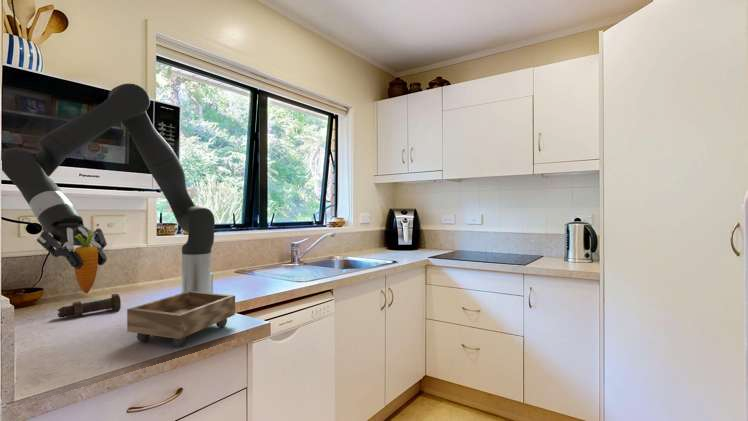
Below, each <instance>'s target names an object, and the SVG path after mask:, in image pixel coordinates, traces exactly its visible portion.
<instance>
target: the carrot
mask: <svg viewBox="0 0 748 421" xmlns="http://www.w3.org/2000/svg"><path fill="white" fill-rule="evenodd" d="M92 236H93V232H92V231H89V232H88V237H87V239H86V242H85V239H83V238H82V236H81V234H78V235H77V236H75V237H74V238H76V239H77V240H78V241H79V242H80V243H81V245H82V247H80V246H77V247H76V248H74V251H73V252H75V251H76V252H77V254H78V255H79V257H80V258H81V259H82V261H83V265H82V267H81V268H80V269H75V268H74V272H75V277H76V281H77V283H78V286H79V287H80V290H81V291H82V292H83V293H84V294H88V293H89V292H90V291H91V289H92V287H93V285H94V283H95V280H96V277H97V272H98V266H99V264H98V249H97V248H96V247H94V246H92V245H91V246H90V243H91V239H92Z"/></svg>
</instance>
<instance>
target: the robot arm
mask: <svg viewBox="0 0 748 421" xmlns="http://www.w3.org/2000/svg"><path fill="white" fill-rule="evenodd" d="M150 104H151V99H150V96H149V93H148V92H147V91H146V90H145V88H143V87H142V86H140V85H138V84H135V83H122V84H120V85H118V86H114V87H113V88H112V89H111V90H110V91H109V93H108V96H107V98H106V99H105V100H104V101H103V102H101V103H100V104H98V105H97V106H95V107H94V108H92V109H91V110H89V111H87V112H85V113H83V114H81V115H79V116H77V117H75V118H73V119H71V120H69V121H67V122H65V123H64V124H62V125H60V126H58V127H56V128H55V129H52V130H51V131H49V132H48V133H47V134H45V135H43V136H42V137H40V138H39V140H37V143H38V147H39V151H38V152H37V153H36V154H34V153H33V152H31V151H30V150H27V149H25V148H23V147H9V148H7V149H4V150H3V151H2V152H1V153H2V169H1V171H2V172H3V173H4V174H5V176H6V177H7V178H8V179H9V180H10V182H12V184H13V185H14V186H15V187H16V188H17V189H18V190H19V192H20V193H21V195H22V196H23V198H24V200H25V201H26V202H27V204H28V205H29V207H30V209H31V212H32V213H33V215H34V216H35V218H36V220H37V221H38V222H39V224H40V225H41V227H42V229H43V230H44V231H42V232H41V233H40V235H39V236H38V238H37V239H36V242H37V243H38V244H39V245H41V246H42V248H44V249H45V250H46V251H47V252H49V253H50V254H51V256H52V257H54V258H59V257H63V258H65V259H66V260H67V262H68V263H69V264H70V266H72V267H73V268H74V270H75V269H80V268H81V267H82V265H83V261H82V259H81V258H80V257H79V255H78V254H77V252H76V251H75V252H74V250H75V248H74V247H75V246H76V247H82V245H81V243H80V242H79V241H78V240H77V239H76V238H74V237H75V236H77V235H78V234H81V236H82V238H83V239H85V242H86V239H87V237H88V232H89V231H92V232H93V236H92V239H91V243H90V246H94V247H96V248H97V249H98V266H103V265H104V264H105V263H106V262H107V260H108V257H107V256H106V254H105V253H104V248H105V247H107V245H108V243H107V240H106V238H105V235H104V232H103V230H102V229H101V228H99V227H97V228H96V229H95V230H93V229H89V228H88V227H87V226H85V225H84V221H83V217H82V216H81V215H80V213H79V212H78V210H77V209H76V207H75V206H74V205H73V204H72V202H71V200H69V198H68V197H67V196H66V195H65V194H64V193H63V192H62V190H61V189H60V187H59V186H58V185H57V183H56V182H54V180H53V179H51V178H50V176H51V175H52V174H53V173H54V172H55V171H56V170H57V169H58V168H59V167H60V165H62V163H63V162H64V160H66V158H69V157H70V156H72V155H73V154H74V153H76V152H78V151H80V150H81V149H82V148H84V147H86V145H88V144H90V143H91V142H93V141H94V140H95V139H97V138H98V137H99V136H101V135H103V134H104V133H105V132H107V131H108V130H109V129H112V128H114V127H115V126H117V125H119V124H122V125H123V127H124V128H125V129H126V131H127V132H128V134H129V136H130V137H131V140H132V141H133V143H134V145H135V147H136V148H137V150H138V153H139V154H140V157H141V158H142V161H144V164H145V165H146V167H147V169H148V171H149V173H150V174H151V175H152V177H153V179H154V181H155V182H156V184H157V186H158V187H159V189H160V191H161V192H162V194H163V196H164V198H165V199H166V201H167V203H168V204H169V206H170V209H171V211H172V213H173V216H174V219H175V220H176V222H177V224H178V226H179V228H180V229H181V230H183V231H184V232H186V233H188V234H187V240H186V242H185V243H184V244H183V245H182V246H181V293H184V292H188V291H194V292H204V293H214V273H213V272H212V248H213V246H214V243H215V242H214V240H215V228H216V227H215V226H216V222H215V215H214V214H213V212H212V210H211V209H209V208H208V207H203V206H197V205H195V202H194V201H193V199H192V198H191V197H190V195H189V192H188V189H187V185H186V174H185V170H184V168H183V165H182V163H181V162H180V160H179V158H178V156H177V154H176V152H175V151H174V149H173V148H172V146H171V145H170V144H169V143H168V142H167V141H166V140H165V138H164V137H163V136H162V135H161V134H160V133H159V132H158V131H157V129H156V127H155V126H154V124H153V123H152V121H151V119H150V117H149V115H148V112H147V111H148V109H149V107H150Z"/></svg>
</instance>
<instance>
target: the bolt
mask: <svg viewBox="0 0 748 421" xmlns="http://www.w3.org/2000/svg"><path fill="white" fill-rule="evenodd" d="M121 306H122V301H121V296H120V294H118V293H113V294H111V297H109V298H105V299H100V300H95V301H89V302H84V303H82V301H73V302H72V304H70V305H66V306H61V307H60V308H58V309H57V311H58V313H57V317H58V318H61V319H62V318H68V317H74V318H81V317H82V316H83V314H88V313H93V312H100V311H105V310H113V311H114V312H117V311H120V310H121V308H122V307H121Z"/></svg>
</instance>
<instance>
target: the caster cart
mask: <svg viewBox="0 0 748 421" xmlns="http://www.w3.org/2000/svg"><path fill="white" fill-rule="evenodd" d="M126 314H127V315H126V321H127V323H126V327H127V328H126V332H129V333H136V339H137V341H139V342H143V343H144V342H145V343H146V342H147V341H148V340H149V339H151V336H157V337H161V338H162V337H164V338H169V339H170V338H171V339H172V345H173V347H177V348H182V347H184V345H185V344H186V342H187V337H189V336H190V335H192V334H195V333H198V332H199V331H201V330H203V329H207V328H209V327H211V326H213V325H216V326H217V327H218V328H224V327H226V326H227V323H228V319H229V318H230V317H234V316H235V315H236V295H234V294H223V293H214V292H213V293H204V292H194V291H188V292H184V293H182V292H181V293H178V294H174V295H171V296H167V297H165V298H161V299H157V300H154V301H151V302H148V303H143V304H141V305H137V306H134V307H130V308H127V309H126Z"/></svg>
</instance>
